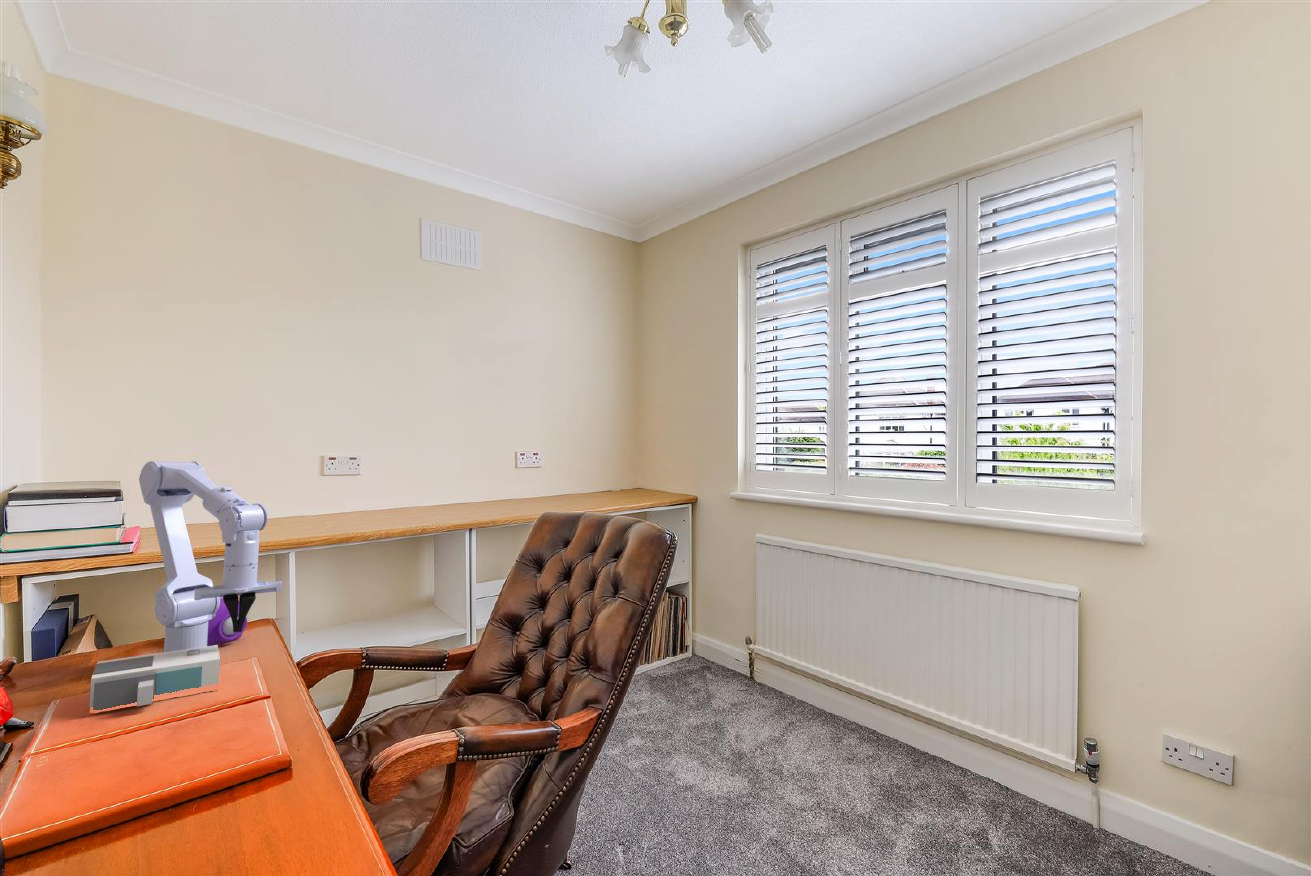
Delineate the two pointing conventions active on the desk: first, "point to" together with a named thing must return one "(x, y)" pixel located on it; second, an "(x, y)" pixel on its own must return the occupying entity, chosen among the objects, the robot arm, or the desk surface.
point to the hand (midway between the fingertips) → (237, 630)
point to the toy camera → (222, 626)
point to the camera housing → (165, 669)
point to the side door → (124, 691)
